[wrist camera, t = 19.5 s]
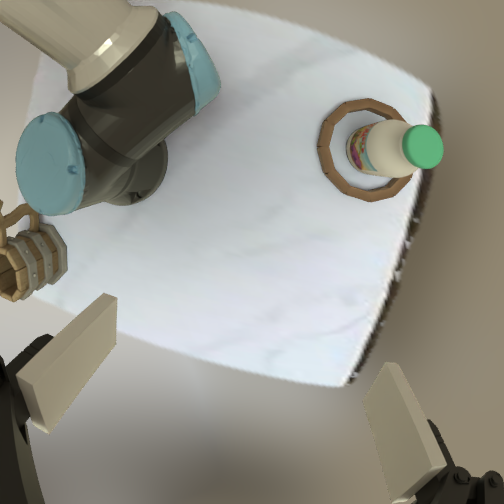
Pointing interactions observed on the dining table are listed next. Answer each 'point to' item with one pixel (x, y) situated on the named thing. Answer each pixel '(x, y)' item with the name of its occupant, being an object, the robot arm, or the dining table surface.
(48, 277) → the tankard
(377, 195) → the walnut ring
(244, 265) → the dining table surface
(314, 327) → the dining table surface
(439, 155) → the milk bottle
